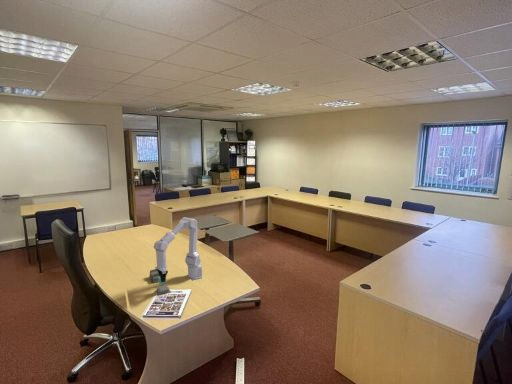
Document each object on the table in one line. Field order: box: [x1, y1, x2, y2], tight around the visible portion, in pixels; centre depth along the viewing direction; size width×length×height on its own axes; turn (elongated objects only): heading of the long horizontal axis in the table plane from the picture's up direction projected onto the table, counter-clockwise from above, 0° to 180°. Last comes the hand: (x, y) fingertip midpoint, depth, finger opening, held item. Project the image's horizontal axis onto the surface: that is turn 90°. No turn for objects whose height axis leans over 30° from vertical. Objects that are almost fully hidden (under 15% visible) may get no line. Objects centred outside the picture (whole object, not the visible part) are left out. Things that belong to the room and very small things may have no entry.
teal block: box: [157, 276, 167, 286], centre depth 170 cm, size 4×4×4 cm
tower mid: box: [156, 284, 170, 296], centre depth 172 cm, size 6×6×2 cm
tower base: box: [155, 286, 172, 297], centre depth 172 cm, size 8×8×2 cm
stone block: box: [149, 268, 159, 284], centre depth 190 cm, size 9×14×5 cm, turn 30°
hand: (162, 280), depth 171 cm, fingers closed on teal block, 4 cm apart
